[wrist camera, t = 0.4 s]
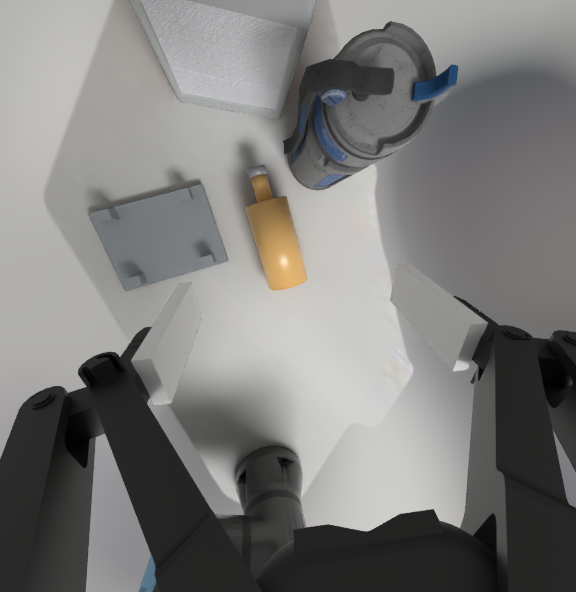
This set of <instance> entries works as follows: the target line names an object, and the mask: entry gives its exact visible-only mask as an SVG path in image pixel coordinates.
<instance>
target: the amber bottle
mask: <svg viewBox="0 0 576 592" xmlns="http://www.w3.org/2000/svg"><path fill="white" fill-rule="evenodd" d="M247 173H248V176H249V179H250V180H251V182H252V185H253V189H254V192H255V196H256V199H257V203H256V204H253V205H250V206H248V207H246V208H245V210H246V213H247V216H248V220H249V223H250V226H251V230H252V233H253V236H254V239H255V243H256V246H257V249H258V253H259V256H260V259H261V262H262V266H263V269H264V272H265V276H266V279H267V282H268V285H269V289H270V290H283V289H287V288H291V287H294V286H297V285H299V284H301V283H303V282H305V281H306V280H307V275H306V271H305V267H304V263H303V260H302V256H301V252H300V248H299V244H298V240H297V236H296V232H295V228H294V224H293V220H292V216H291V212H290V209H289V205H288V201H287V197H286V196H282V197H277V198H273V197H272V193H271V189H270V186H269V182H268V178H267V170H266V166H265V165H259V166H255V167H252V168H250V169H248V170H247Z"/></svg>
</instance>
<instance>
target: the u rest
mask: <svg viewBox="0 0 576 592" xmlns="http://www.w3.org/2000/svg"><path fill="white" fill-rule="evenodd" d="M88 215H89V217H90V219H91V221H92V223H93V225H94V227H95V229H96V231H97V233H98V236H99V238H100V240H101V242H102V244H103V246H104V248H105V250H106V252H107V254H108V256H109V258H110V260H111V263H112V265H113V267H114V269H115V271H116V273H117V275H118V277H119V279H120V281H121V283H122V285H123V288H124V290H125V291H128V290H131V289H135V288H138V287H141V286H145V285H148V284H152V283H155V282H158V281H162V280H165V279H169V278H172V277H176V276H179V275H182V274H186V273H189V272H193V271H196V270H199V269H203V268H206V267H210V266H213V265H216V264H220V263H223V262H227V261H228V258H227V255H226V252H225V249H224V246H223V243H222V240H221V237H220V234H219V232H218V229H217V226H216V223H215V220H214V217H213V214H212V211H211V208H210V205H209V202H208V199H207V197H206V194H205V191H204V188H203V185H202V184H200V185H196V186H192V187H188V188H184V189H180V190H177V191H173V192H169V193H165V194H161V195H158V196H154V197H150V198H146V199H142V200H138V201H135V202H131V203H127V204H123V205H119V206H115V207H112V208H108V209H104V210H100V211H96V212H92V213H89V214H88Z"/></svg>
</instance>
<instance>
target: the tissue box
mask: <svg viewBox="0 0 576 592" xmlns="http://www.w3.org/2000/svg"><path fill="white" fill-rule="evenodd" d="M129 1H130V3H131V5H132V7H133V9H134V11H135V13H136V15H137V17H138V19H139V21H140V24H141V26H142V28H143V30H144V32H145V34H146V36H147V38H148V40H149V42H150V44H151V46H152V48H153V50H154V52H155V54H156V56H157V58H158V60H159V62H160V64H161V66H162V68H163V70H164V72H165V74H166V76H167V78H168V80H169V82H170V84H171V86H172V88H173V90H174V92H175V94H176V97H177V98H178V100H179V101H180V102H182V103H188V104H194V105H199V106H205V107H211V108H217V109H222V110H228V111H234V112H240V113H245V114H251V115H257V116H262V117H268V118H274V119H279V118H280V117H281V114H282V111H283V108H284V105H285V102H286V99H287V95H288V92H289V89H290V86H291V83H292V80H293V77H294V73H295V70H296V67H297V64H298V61H299V58H300V54H301V51H302V48H303V45H304V42H305V39H306V36H307V32H308V29H309V26H310V23H311V20H312V16H313V12H314V8H315V2H316V0H129Z"/></svg>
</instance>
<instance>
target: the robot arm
mask: <svg viewBox="0 0 576 592" xmlns="http://www.w3.org/2000/svg"><path fill="white" fill-rule="evenodd" d="M390 300H391V302H392V303H393V304H394V305H395V306H396V307H397V308H398V310H399V311H400V312H401V313H402V314H403V315H404V316H405V318H406V319H407V320H408V321H409V322H410V323H411V324H412V326H413V327H414V328H415V329H416V330H417V331H418V332H419V334H420V335H421V336H422V337H423V338H424V339H425V340H426V342H427V343H428V344H429V345H430V346H431V347H432V348H433V349H434V351H435V352H436V353H437V354H438V355H439V356H440V358H441V359H442V360H443V361H444V362H445V363H446V364H447V366H448V367H449V368H450V369H451V370H452V371H460V370H468V368H469V366H470V364H471V361H472V360H473V361H474V362H475V363H476V364H477V365H478V367H477V370H476V372H475V374H474V376H473V378H472V381H471V383H472V384H473V383H474V382H475V386H474V401H473V413H472V427H471V440H470V453H469V466H468V479H467V480H468V481H467V493H466V506H465V513H464V518H463V521H462V525H461V527H460V528H458V527H456V526H453V525H451V524H448V523H445V522H442V521H439V519H438V518H437V515H436V513H435V511H434V509H432V510H425V511H418V512H411V513H404V514H399V515H397V516H396V517H394V518H392V519H390V520H389V521H387V522H385V523H383V524H382V525H380V526H378V527H376V528H374V529H373V530H371V531H368V532H365V531H359V530H354V529H349V528H343V527H339V526H334V525H321V526H314V527H307V528H306V525H305V519H304V515H303V510H302V506H301V489H302V469H301V465H300V461H299V459H298V457H297V456H296V455H295V454H294V453H293V452H292V451H290V450H288V449H286V448H283V447H277V446H271V447H265V448H261V449H259V450H256V451H254V452H252V453H251V454H249V455H248V456H247V457H246V458H245V459H244V460H243V461H242V462H241V464H240V465H239V467H238V470H237V473H236V490H237V494H238V497H239V500H240V504H241V507H242V510H243V513H244V515H215V514H214V512H213V511H212V510H211V508H210V507H209V505H208V504H207V502H206V501H205V499H204V497H203V496H202V494H201V492H200V491H199V489H198V487H197V485H196V484H195V482H194V481H193V479H192V477H191V476H190V474H189V472H188V471H187V469H186V467H185V466H184V464H183V463H182V461H181V459H180V457H179V456H178V454H177V453H176V451H175V450H174V448H173V446H172V444H171V443H170V441H169V439H168V438H167V436H166V434H165V433H164V431H163V429H162V428H161V426H160V425H159V423H158V421H157V420H156V418H155V416H154V415H153V413H152V411H151V410H150V408H149V406H148V405H147V402H148V400H149V398H150V399H151V401H152V403H153V405H154V406H156V405H165V404H172V401H173V398H174V395H175V392H176V390H177V387H178V384H179V381H180V379H181V376H182V373H183V370H184V367H185V365H186V362H187V359H188V356H189V353H190V351H191V348H192V345H193V342H194V340H195V337H196V334H197V331H198V328H199V326H200V323H201V320H202V317H201V313H200V310H199V306H198V302H197V299H196V295H195V292H194V288H193V285H192V282H191V283H180V284H179V285H178V286H177V288H176V290H175V291H174V293H173V294H172V296H171V298H170V299H169V301H168V302H167V304H166V306H165V307H164V309H163V310H162V312H161V313H160V315H159V317H158V318H157V320H156V321H155V323H154V325H153V326H152V327H145V328H143V329H142V330H141V331H140V332H138V333H137V334H136V335H135V337H134V338H133V339H132V341H131V343H130V344H129V345H128V347H127V349H126V350H125V351H124V353H123V354H122V355H121V357H119V355H118V354H117V353H115V352H106V353H101V354H99V355H96V356H94V357H92V358H90V359H89V360H87V361H86V362H85V363H84V364H82V365H81V367H80V368H79V370H78V375H79V376H80V378H81V379H82V381H83V382H84V383H85V385H86V386H87V387H85V388H82V389H79V390H76V391H73V392H70V393H68V392H67V391H66V390H65V388H63V387H61V386H54V387H50V388H47V389H44V390H42V391H40V392H38V393H36V394H35V395H33V396H31V397H30V398H29V399H28V400H27V401H26V402H24V403H23V405H22V406H21V408H20V409H19V412H18V414H17V417H16V420H15V422H14V425H13V428H12V430H11V433H10V435H9V438H8V440H7V443H6V446H5V448H4V451H3V453H2V456H1V459H0V592H86V577H87V562H88V545H89V530H90V515H91V501H92V485H93V470H94V454H95V440H96V439H95V438H96V437H97V436H100V435H102V434H106V436H107V439H108V442H109V444H110V447H111V450H112V452H113V455H114V457H115V460H116V463H117V466H118V468H119V471H120V473H121V476H122V479H123V481H124V484H125V486H126V489H127V492H128V494H129V497H130V500H131V502H132V505H133V508H134V510H135V513H136V516H137V518H138V520H139V523H140V526H141V529H142V531H143V534H144V536H145V539H146V542H147V544H148V547H149V550H150V552H151V557H150V560H149V562H148V565H147V568H146V571H145V573H144V576H143V579H142V582H141V588H140V590H139V592H576V508H575V507H573V506H571V505H569V503H568V501H567V498H566V494H565V489H564V484H563V479H562V474H561V469H560V465H559V460H558V455H557V449H556V445H555V440H554V435H553V430H554V432H555V434H556V436H557V438H558V440H559V442H560V443H561V445H562V447H563V449H564V451H565V453H566V455H567V457H568V458H569V460H570V462H571V464H572V466H573V468H574V470H575V472H576V332H569V331H561V330H558V331H554V333H553V334H552V336H551V337H550V339H540V338H533V337H532V336H531V335H530V334H529V333H527V332H525V331H524V330H522V329H519V328H516V327H513V326H506V325H502V326H500V325H498V324H497V323H496V322H494V321H493V320H491V319H490V318H488V317H487V316H486V315H485V314H483V313H482V312H479V310H478V309H476V308H475V307H473V306H472V305H471V304H469V303H468V302H467V301H465V300H463V299H460V298H458V297H456V296H452V295H450V294H449V293H448V292H446V291H445V290H444V289H442V288H441V287H440V286H438V285H437V284H436V283H434V282H433V281H432V280H430V279H429V278H427V277H426V276H425V275H424V274H422V273H421V272H420V271H418V270H417V269H416V268H414V267H413V266H412V265H410V264H409V263H400V264H396V269H395V275H394V281H393V286H392V292H391V298H390ZM572 383H573V384H572ZM552 428H553V430H552Z"/></svg>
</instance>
